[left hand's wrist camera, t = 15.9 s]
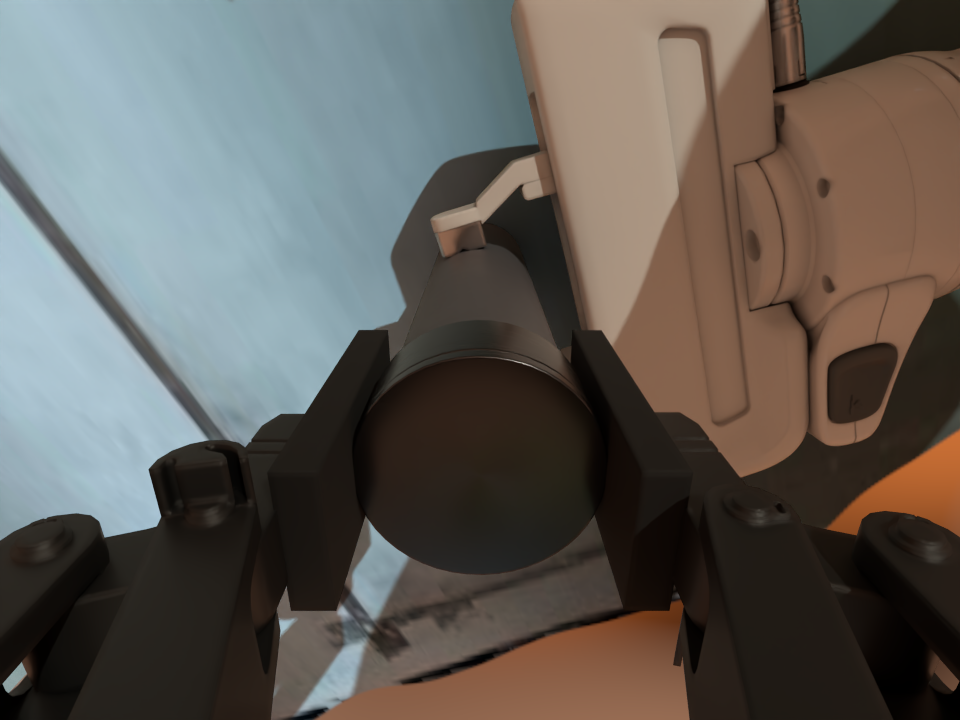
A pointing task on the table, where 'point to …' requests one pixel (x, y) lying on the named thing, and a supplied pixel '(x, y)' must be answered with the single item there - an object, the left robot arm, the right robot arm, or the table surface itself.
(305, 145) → the table surface
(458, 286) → the dark brown cylinder
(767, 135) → the right robot arm
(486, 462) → the lid
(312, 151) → the table surface
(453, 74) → the table surface
